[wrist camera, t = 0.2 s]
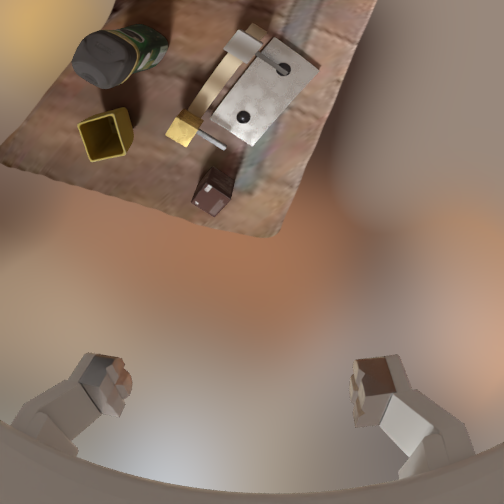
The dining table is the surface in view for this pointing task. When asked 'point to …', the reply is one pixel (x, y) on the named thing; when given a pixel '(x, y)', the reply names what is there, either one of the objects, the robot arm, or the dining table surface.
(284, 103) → the hole plate
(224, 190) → the box
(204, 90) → the beam
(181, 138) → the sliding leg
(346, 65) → the dining table surface
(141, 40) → the coffee jar
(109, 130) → the flower pot
